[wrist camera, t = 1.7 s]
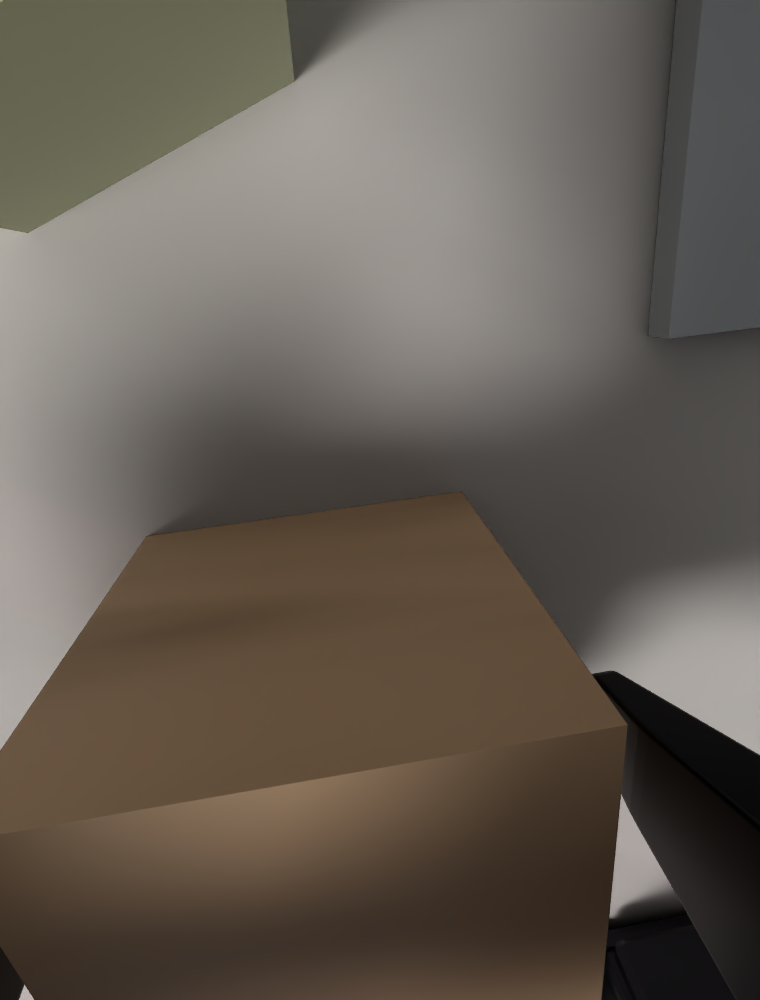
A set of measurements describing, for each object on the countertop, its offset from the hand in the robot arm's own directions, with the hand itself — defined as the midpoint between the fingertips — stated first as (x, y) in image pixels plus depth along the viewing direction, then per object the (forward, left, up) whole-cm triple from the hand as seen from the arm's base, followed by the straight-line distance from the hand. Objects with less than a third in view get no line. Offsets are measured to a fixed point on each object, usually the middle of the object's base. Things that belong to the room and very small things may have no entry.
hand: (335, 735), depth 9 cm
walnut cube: (0, 0, -2) cm, 3 cm away
